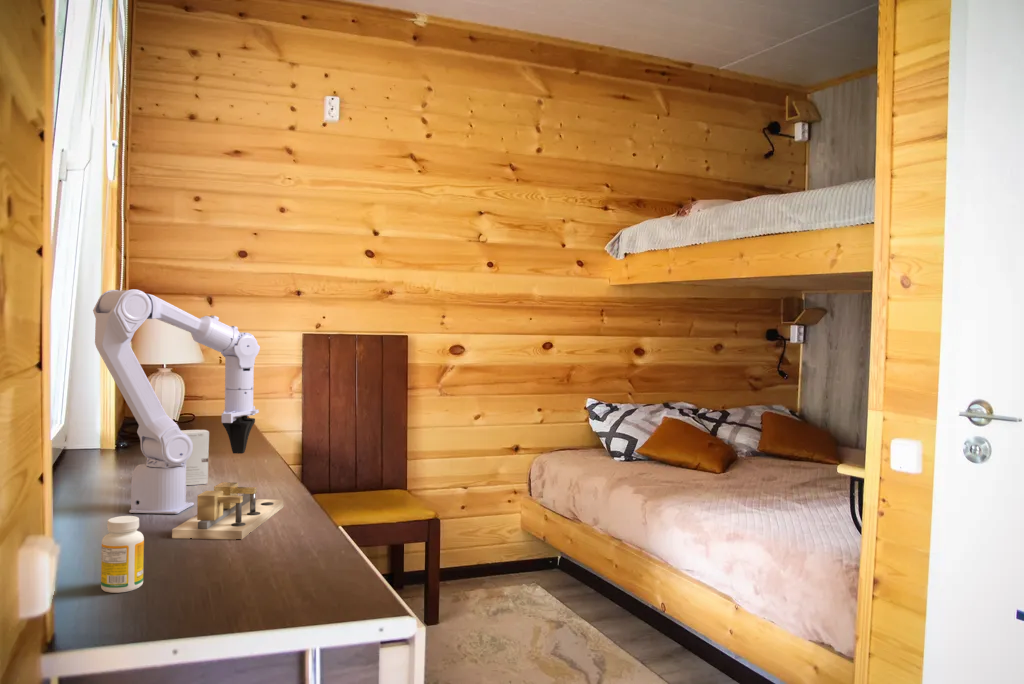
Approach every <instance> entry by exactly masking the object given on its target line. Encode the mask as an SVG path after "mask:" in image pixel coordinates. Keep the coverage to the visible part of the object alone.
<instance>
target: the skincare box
mask: <svg viewBox="0 0 1024 684" xmlns="http://www.w3.org/2000/svg"><path fill="white" fill-rule="evenodd" d="M180 430H181V429H180ZM181 431H182V432H183V433H184V434H186V435H187V436H189V438H190V439H191V441H192V444H193V450H192V454H191V456H190V457H189V459H188V460H187V461H186V486H194V485H195V486H197V485H206V484H207V485H208V483H209V451H210V450H209V446H210V431H209V430H207V429H186V430H184V429H183V430H181Z"/></svg>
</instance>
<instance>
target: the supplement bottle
mask: <svg viewBox="0 0 1024 684" xmlns="http://www.w3.org/2000/svg"><path fill="white" fill-rule="evenodd" d="M106 522H107V525H106V526H107V528H106V529H107V532H109V533H106V534H105V535H104V536H103V537H102V539H101V553H100V554H101V557H100V560H101V561H100V562H101V563H100V565H101V566H100V567H101V568H100V573H101V574H100V587H101V590H103V591H104V592H106V593H113V594H114V593H115V594H118V593H119V594H121V593H126V592H132V591H134V590H137V589H139V588H140V587H142V586H143V583H144V558H145V557H144V554H145V552H144V551H145V550H144V549H145V537H144V534H143V533H142V532H141V531H140V530H138V529H139V528H140V518H139V516H135V515H134V516H133V515H120V516H115V517H110V518H109V519H107V521H106Z"/></svg>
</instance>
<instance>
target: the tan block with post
mask: <svg viewBox="0 0 1024 684" xmlns="http://www.w3.org/2000/svg"><path fill="white" fill-rule="evenodd" d="M213 491H223V496H239V495H243V494H250V512H251V513H253V512H256V497H257V495H256V494H257V492H258V487H257V486H255V487H254V486H239V482H228V481H226V482H225V481H223V482H219V483H218V484H217V485H214V486H213ZM235 505H236V503H223V509H230V508H232V507H233V506H235Z"/></svg>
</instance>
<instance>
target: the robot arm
mask: <svg viewBox="0 0 1024 684" xmlns="http://www.w3.org/2000/svg"><path fill="white" fill-rule="evenodd" d="M92 311H93V314H94V318H95V328H94V331H95V332H94V344H95V348H96V350H97V352H98V353H99V355H100V357H101V358H102V360H103V363H104V364H105V367H106V368H107V369H108V371H109V373H110V375H111V377H112V379H113V380H114V383H115V384H116V386H117V388H118V389H119V392H120V393H121V395H122V397H123V399H124V400H125V402H126V404H127V406H128V408H129V410H130V411H131V413H132V415H133V417H134V419H135V421H136V422H137V424H138V428H137V431H136V433H137V436H138V437H139V440H140V450H141V453H142V454H143V456H144V457H146V461H145V462H146V463H145V464H144V463H141V464H138V465H137V466H135V467H134V470H133V471H132V474H131V482H130V483H131V487H130V489H131V490H130V491H131V492H130V495H131V496H130V504H131V505H130V507H131V508H130V509H129V510H128V512H129V513H130V514H131V513H133V514H168V515H169V514H170V515H171V514H173V515H174V514H175V515H178V514H180V513H182V512H184V511H185V510H187V509H188V508H191V507H192V506H194V504H195V503H194V502H191V501H190V502H189V501H187V485H186V461H187V460H188V459H189V457H190V456H191V454H192V450H193V444H192V441H191V439H190V438H189V436H187V435H186V434H184V433H183V432H182V431H181V428H180V427H179V424H178V423H176V422H175V420H173V419H172V418H171V417H170V416H169V415H168V414H167V413H166V410H165V409H164V407H163V406H162V403H161V401H160V400H159V397H158V396H157V394H156V392H155V389H154V387H153V386H152V384H151V383H150V381H149V378H148V377H147V375H146V373H145V371H144V369H143V367H142V365H141V363H140V361H139V360H138V358H137V356H136V354H135V353H134V351H133V348H132V347H131V341H132V339H133V337H134V335H135V333H136V331H137V330H138V329H139V328H140V327H141V326H142V325H143V324H144V323H145V321H146V320H158V321H161V322H163V323H166V324H168V325H171V326H173V327H176V328H178V329H181V330H183V331H186V332H189V333H190V334H191V337H192V339H193V341H194V342H196V343H198V344H200V345H203V346H205V347H207V348H209V349H212V350H214V351H217V352H218V353H220V354H221V355H222V356H223V358H225V360H224V362H225V365H224V382H225V383H224V386H225V387H224V409H223V413H221V424H222V425H223V426H222V427H224V429H225V430H226V434H227V437H228V440H229V443H230V448H231V451H232V454H236V455H237V454H240V455H241V454H245V452H246V448H247V444H248V439H249V436H250V433H251V430H252V428H253V426H254V425H255V423H256V418H254V417H252V418H251V417H250V416H255V415H256V414H259V413H260V409H256V406H255V405H254V386H255V385H254V383H255V381H254V379H255V378H254V376H255V370H254V369H255V367H254V366H255V365H256V364H255V363H256V362H255V361H256V357H257V356H258V355H259V353H260V349H261V346H260V345H259V344H258V343H259V342H258V340H257V339H256V338H255V335H253V334H252V333H250V332H243V331H242V332H240V331H239V327H238V326H236V325H228V324H226V323H223V322H222V321H220V317H218V316H217V315H210V316H208V315H204V316H201V317H197V316H195V315H193V314H192V313H189V312H187V311H185V310H184V309H181V308H180V307H177V306H175V305H173V304H172V303H170V302H167V301H166V300H164V299H162V298H160V297H158V296H155V295H153V294H150V293H145V291H143V290H140V289H134V288H133V289H128V290H127V289H126V290H119V289H110V290H106V291H105V292H103V293H102V294H101V295H100V296H99V298H98V300H97V301H96V304H95V305H94V308H93V309H92ZM249 417H250V418H249Z"/></svg>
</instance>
